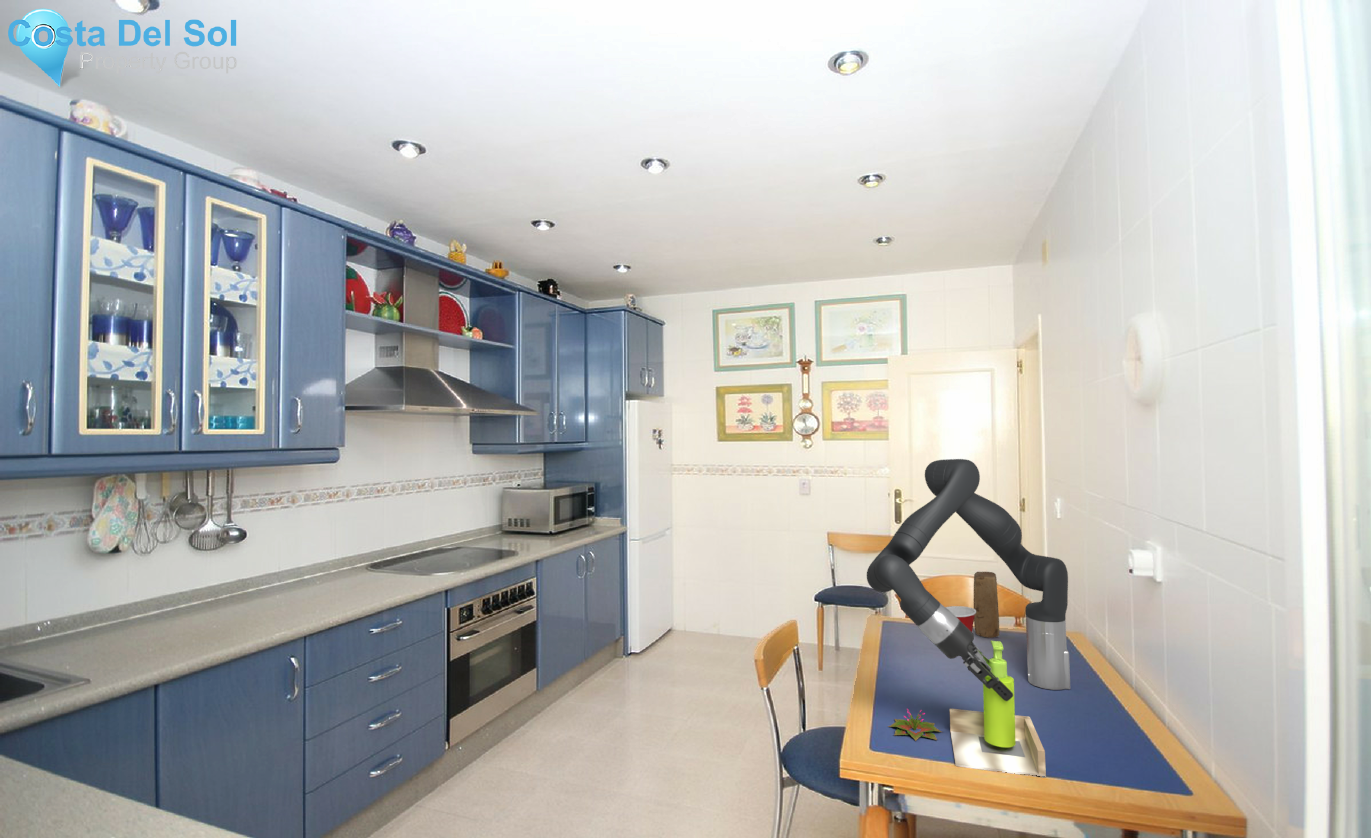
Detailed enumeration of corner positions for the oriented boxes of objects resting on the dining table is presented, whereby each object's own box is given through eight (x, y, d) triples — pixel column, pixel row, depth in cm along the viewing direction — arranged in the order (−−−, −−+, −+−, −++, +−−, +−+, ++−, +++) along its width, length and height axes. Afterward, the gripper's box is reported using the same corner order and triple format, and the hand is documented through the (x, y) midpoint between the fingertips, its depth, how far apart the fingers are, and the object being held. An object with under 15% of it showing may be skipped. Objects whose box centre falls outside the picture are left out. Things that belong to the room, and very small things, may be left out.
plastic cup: (935, 642, 205) (934, 604, 206) (971, 643, 204) (970, 605, 204) (944, 654, 195) (943, 613, 195) (982, 655, 193) (981, 614, 194)
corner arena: (1030, 740, 139) (1029, 716, 139) (1045, 777, 124) (1044, 751, 124) (950, 731, 144) (949, 708, 145) (955, 766, 129) (954, 740, 129)
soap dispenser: (1012, 735, 138) (1010, 640, 139) (1017, 749, 132) (1015, 649, 133) (982, 731, 140) (980, 637, 141) (986, 745, 134) (983, 646, 135)
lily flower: (886, 740, 142) (885, 719, 142) (887, 717, 153) (886, 698, 153) (945, 747, 138) (944, 725, 138) (941, 723, 149) (941, 703, 149)
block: (999, 640, 207) (997, 577, 207) (974, 637, 210) (971, 575, 210) (999, 630, 216) (997, 570, 217) (975, 628, 220) (972, 568, 220)
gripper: (960, 628, 132) (1027, 693, 128) (955, 610, 146) (1015, 668, 142) (933, 652, 134) (998, 717, 130) (930, 632, 147) (989, 690, 143)
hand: (1007, 691), depth 136 cm, fingers closed on soap dispenser, 6 cm apart
